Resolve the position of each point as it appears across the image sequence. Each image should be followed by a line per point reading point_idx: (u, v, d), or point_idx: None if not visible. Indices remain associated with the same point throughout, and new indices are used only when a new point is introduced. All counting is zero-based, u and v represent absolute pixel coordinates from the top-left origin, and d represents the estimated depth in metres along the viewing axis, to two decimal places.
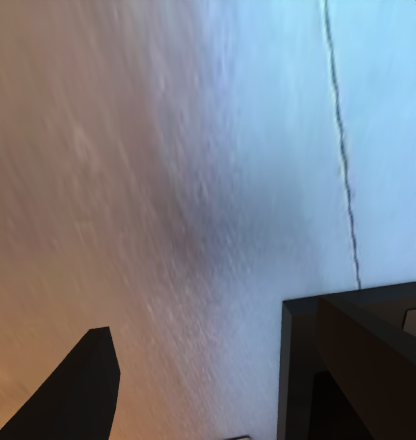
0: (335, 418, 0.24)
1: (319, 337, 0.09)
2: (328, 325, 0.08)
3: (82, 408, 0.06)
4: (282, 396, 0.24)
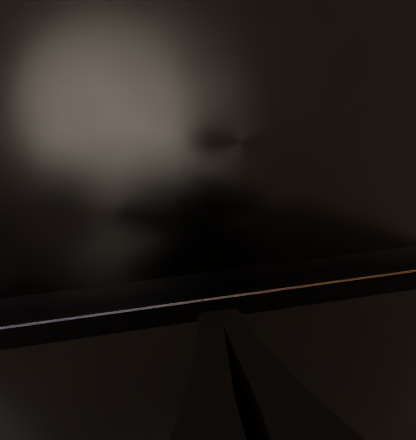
0: None
1: None
2: None
3: None
4: None
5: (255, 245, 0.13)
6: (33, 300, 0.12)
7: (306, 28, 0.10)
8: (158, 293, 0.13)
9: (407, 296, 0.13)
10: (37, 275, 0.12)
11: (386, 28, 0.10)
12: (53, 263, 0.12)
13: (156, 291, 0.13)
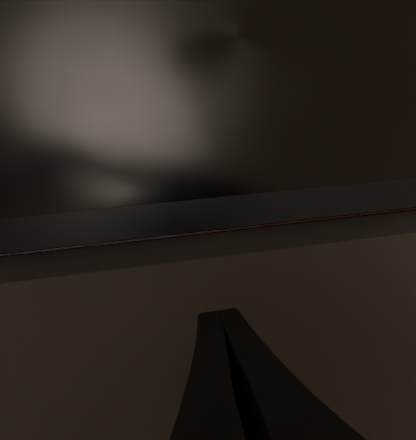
0: None
1: None
2: None
3: None
4: None
5: (255, 168, 0.12)
6: (6, 226, 0.11)
7: None
8: (147, 223, 0.12)
9: (414, 238, 0.12)
10: (10, 194, 0.10)
11: None
12: (28, 180, 0.10)
13: (145, 220, 0.12)
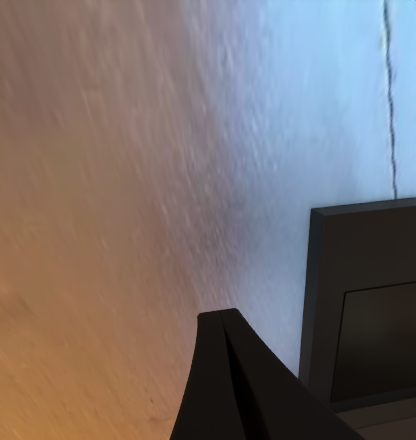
0: (365, 350, 0.22)
1: None
2: None
3: None
4: (307, 324, 0.22)
5: None
6: (349, 401, 0.24)
7: None
8: (404, 394, 0.25)
9: None
10: (358, 390, 0.24)
11: None
12: (367, 385, 0.24)
13: (403, 393, 0.25)
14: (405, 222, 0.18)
